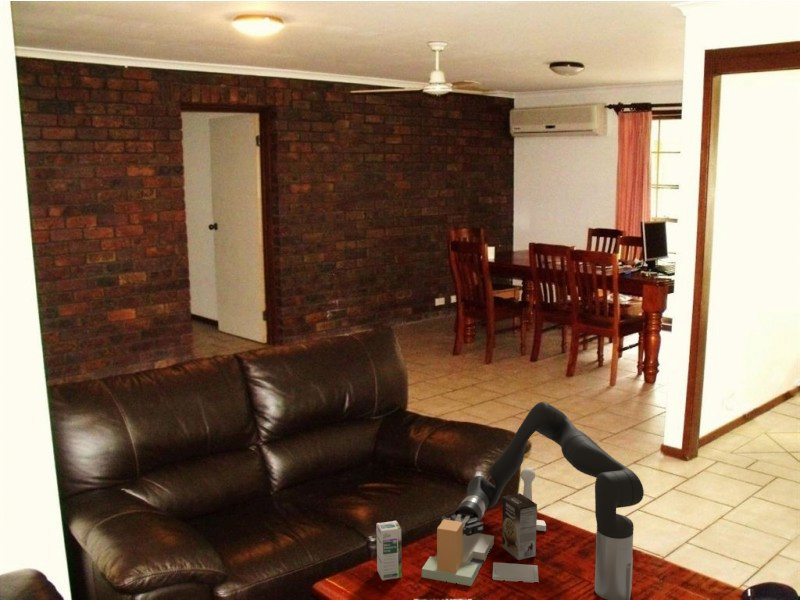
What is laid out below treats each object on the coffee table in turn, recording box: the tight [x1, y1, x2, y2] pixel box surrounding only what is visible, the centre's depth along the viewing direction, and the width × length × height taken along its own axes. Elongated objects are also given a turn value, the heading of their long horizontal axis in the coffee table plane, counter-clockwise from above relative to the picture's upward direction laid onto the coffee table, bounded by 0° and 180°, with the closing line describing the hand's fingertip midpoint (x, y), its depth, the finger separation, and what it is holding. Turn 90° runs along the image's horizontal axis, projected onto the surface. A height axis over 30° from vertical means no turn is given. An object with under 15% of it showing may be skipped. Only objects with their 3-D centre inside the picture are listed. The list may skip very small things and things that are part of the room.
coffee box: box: [501, 492, 538, 561], centre depth 226 cm, size 9×6×16 cm
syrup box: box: [375, 520, 403, 581], centre depth 214 cm, size 6×6×14 cm
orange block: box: [436, 519, 463, 573], centre depth 214 cm, size 6×6×12 cm
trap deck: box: [421, 533, 495, 587], centre depth 223 cm, size 14×26×2 cm, turn 160°
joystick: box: [520, 467, 547, 532], centre depth 239 cm, size 11×8×20 cm
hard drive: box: [491, 561, 540, 584], centre depth 215 cm, size 2×8×12 cm
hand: (453, 537), depth 216 cm, fingers closed
